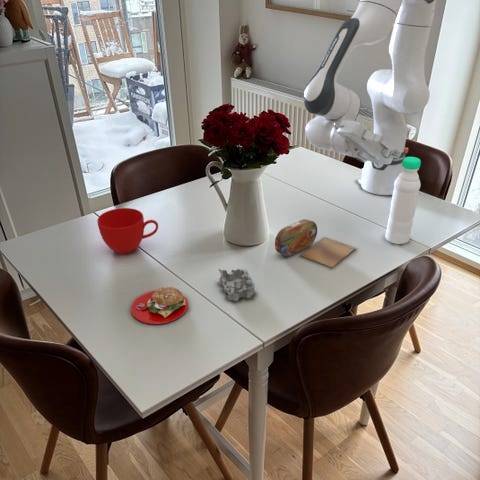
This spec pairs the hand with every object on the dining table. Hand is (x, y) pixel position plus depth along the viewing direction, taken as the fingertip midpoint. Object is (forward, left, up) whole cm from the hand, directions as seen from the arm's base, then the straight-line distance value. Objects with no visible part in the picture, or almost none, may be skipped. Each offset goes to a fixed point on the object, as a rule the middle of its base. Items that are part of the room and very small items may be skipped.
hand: (390, 147), depth 132 cm
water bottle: (-7, +4, -29) cm, 30 cm away
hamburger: (+61, -27, -29) cm, 73 cm away
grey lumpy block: (+43, -17, -29) cm, 55 cm away
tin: (+17, -17, -29) cm, 38 cm away
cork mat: (+13, -8, -29) cm, 33 cm away
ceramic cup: (+46, -55, -29) cm, 78 cm away
